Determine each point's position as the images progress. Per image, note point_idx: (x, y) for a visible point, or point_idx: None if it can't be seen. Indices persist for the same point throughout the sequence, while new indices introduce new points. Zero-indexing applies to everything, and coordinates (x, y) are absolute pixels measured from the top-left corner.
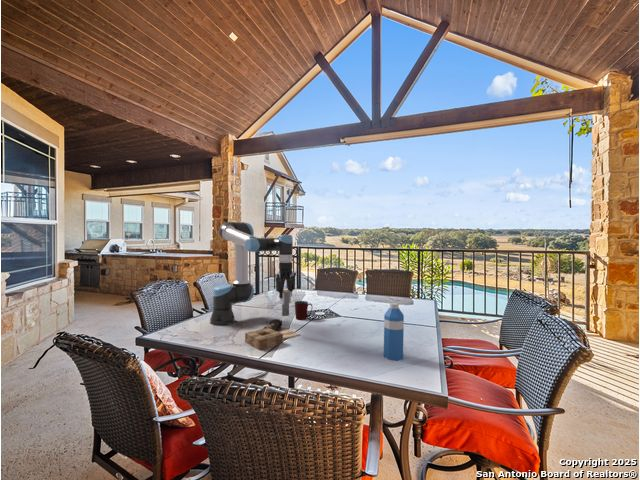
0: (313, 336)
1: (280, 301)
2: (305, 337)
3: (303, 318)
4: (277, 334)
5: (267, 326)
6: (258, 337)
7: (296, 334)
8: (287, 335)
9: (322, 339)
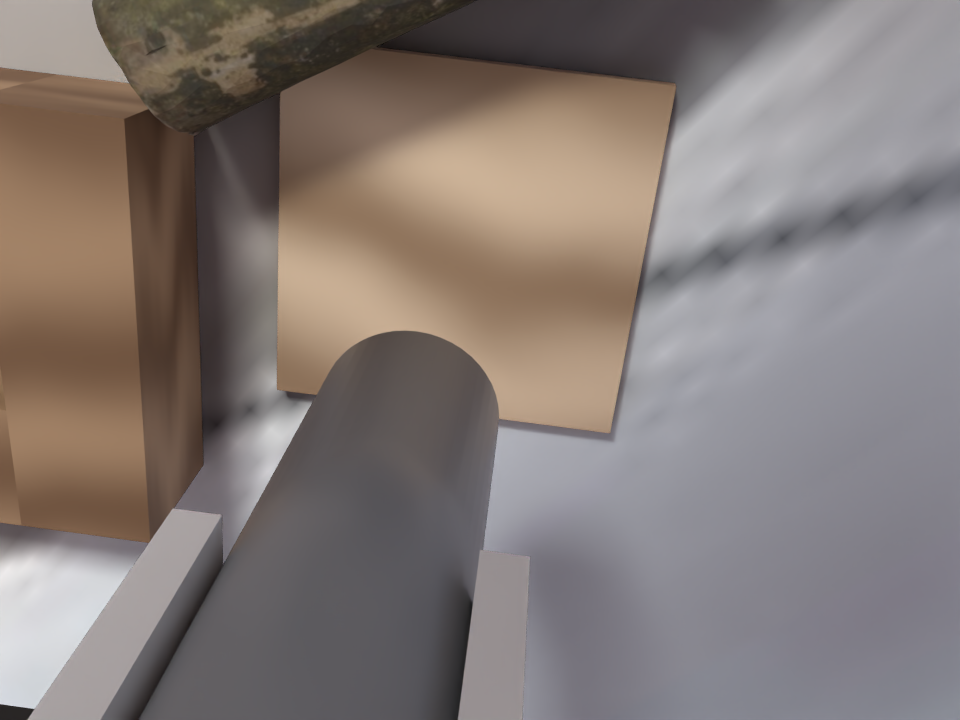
0: (687, 587)
1: (139, 572)
2: (581, 536)
3: None
4: (68, 507)
5: (163, 45)
6: None
7: (555, 409)
8: None
9: (664, 716)
